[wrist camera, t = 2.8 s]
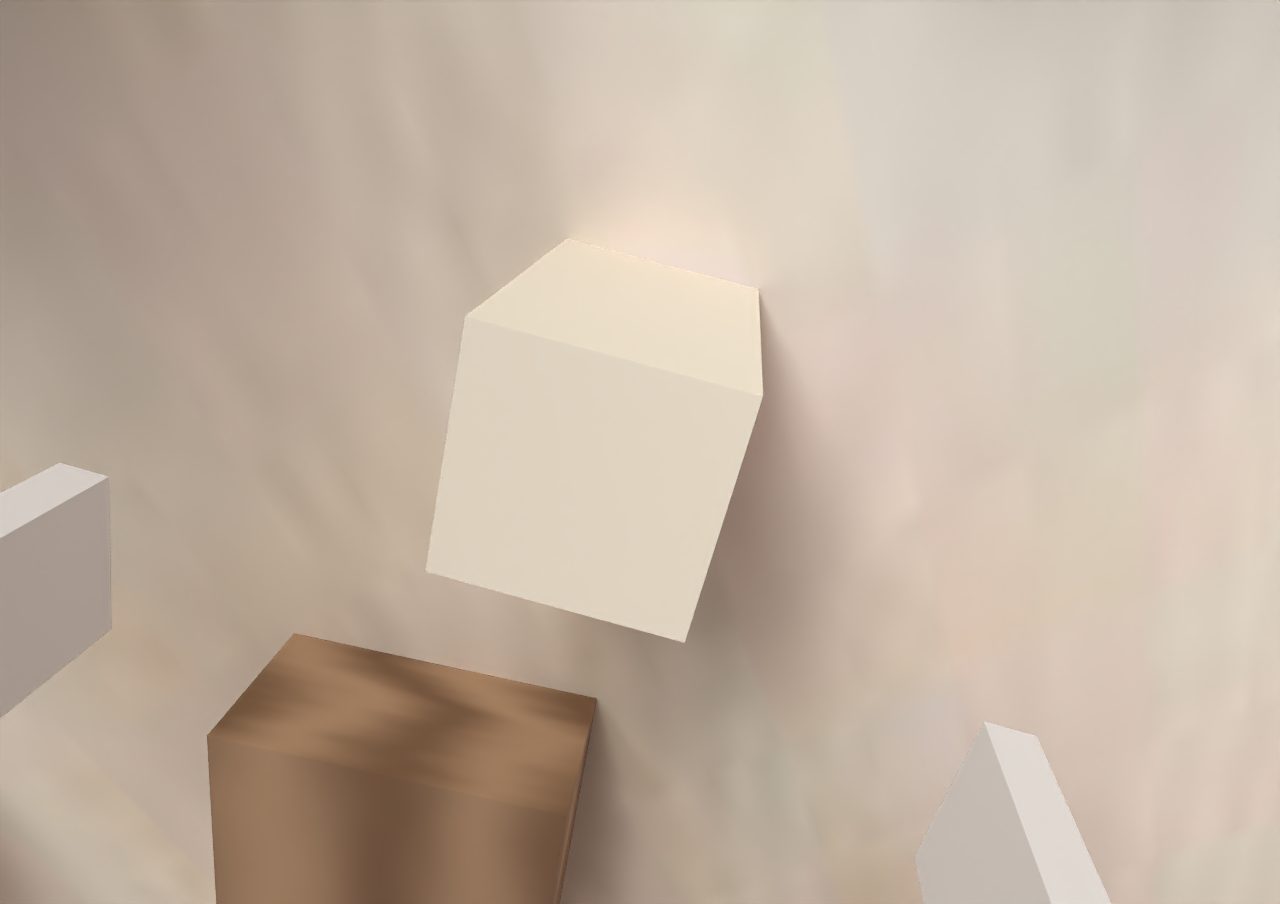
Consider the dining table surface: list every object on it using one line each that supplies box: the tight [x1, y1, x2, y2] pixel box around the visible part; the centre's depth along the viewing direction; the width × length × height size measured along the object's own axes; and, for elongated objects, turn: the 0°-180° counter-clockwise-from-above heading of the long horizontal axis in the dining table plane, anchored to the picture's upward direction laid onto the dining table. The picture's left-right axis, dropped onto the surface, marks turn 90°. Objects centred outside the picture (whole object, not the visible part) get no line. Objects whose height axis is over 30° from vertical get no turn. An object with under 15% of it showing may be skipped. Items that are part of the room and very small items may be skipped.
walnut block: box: [207, 633, 596, 904], centre depth 32 cm, size 12×12×6 cm
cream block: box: [425, 238, 763, 643], centre depth 22 cm, size 6×6×10 cm
